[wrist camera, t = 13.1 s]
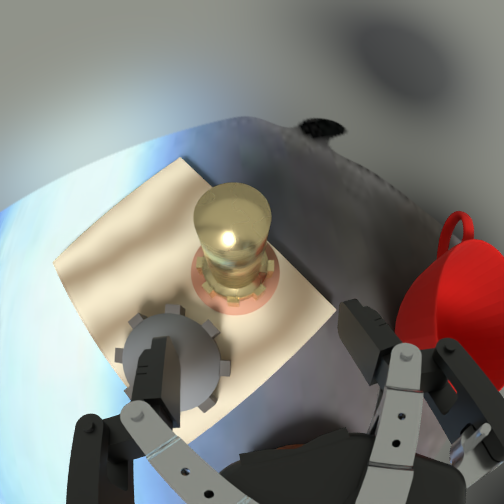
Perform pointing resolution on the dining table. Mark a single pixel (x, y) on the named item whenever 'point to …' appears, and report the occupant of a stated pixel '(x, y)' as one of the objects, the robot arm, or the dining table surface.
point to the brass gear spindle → (233, 242)
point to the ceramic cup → (459, 300)
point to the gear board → (183, 300)
